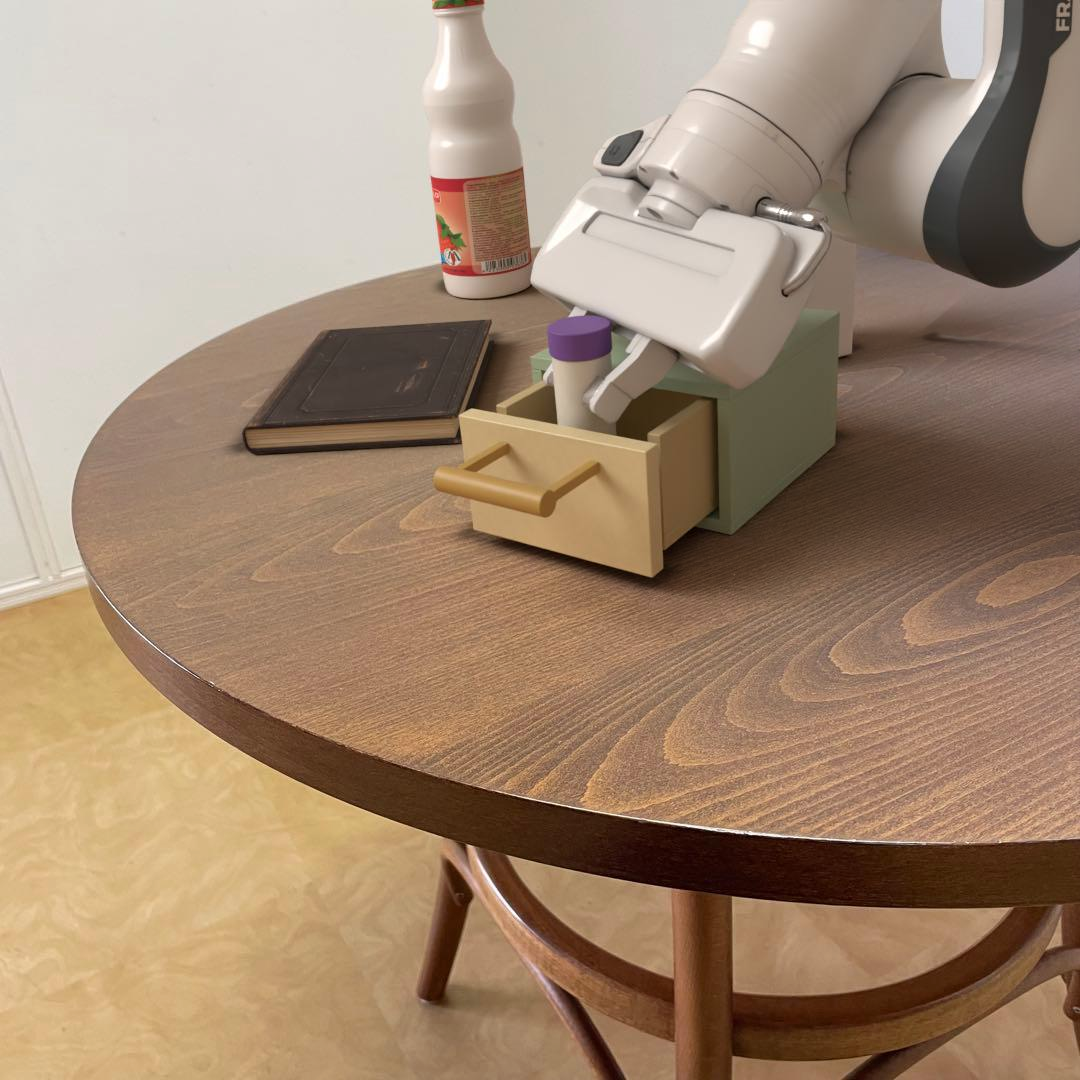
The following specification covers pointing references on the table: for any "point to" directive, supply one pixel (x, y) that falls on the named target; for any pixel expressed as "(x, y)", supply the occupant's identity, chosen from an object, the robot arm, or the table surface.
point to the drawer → (590, 476)
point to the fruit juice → (475, 160)
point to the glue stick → (579, 367)
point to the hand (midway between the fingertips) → (574, 402)
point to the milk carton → (837, 289)
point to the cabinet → (761, 416)
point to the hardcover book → (375, 389)
